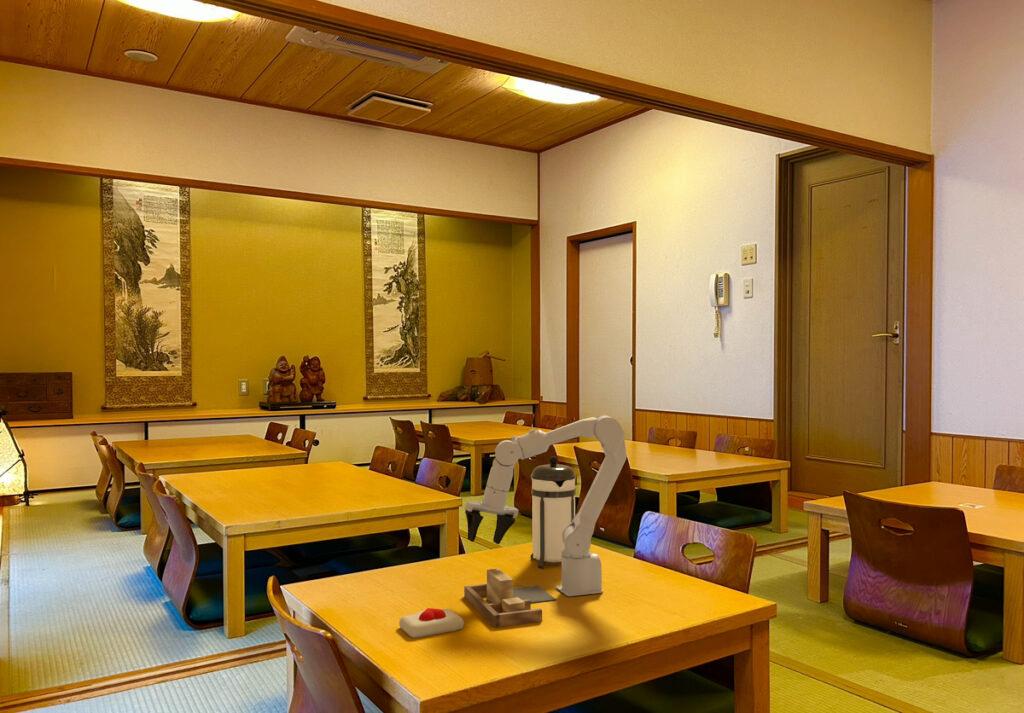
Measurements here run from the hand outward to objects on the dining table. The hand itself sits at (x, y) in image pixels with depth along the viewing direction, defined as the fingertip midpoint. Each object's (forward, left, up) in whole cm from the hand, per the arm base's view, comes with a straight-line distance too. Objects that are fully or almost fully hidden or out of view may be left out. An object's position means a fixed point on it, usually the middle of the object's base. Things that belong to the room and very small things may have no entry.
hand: (483, 541), depth 189 cm
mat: (-9, +7, -12) cm, 17 cm away
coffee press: (-26, -20, -12) cm, 36 cm away
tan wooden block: (0, +11, -12) cm, 16 cm away
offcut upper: (0, +21, -11) cm, 23 cm away
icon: (+18, +20, -13) cm, 30 cm away
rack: (0, +14, -12) cm, 18 cm away
